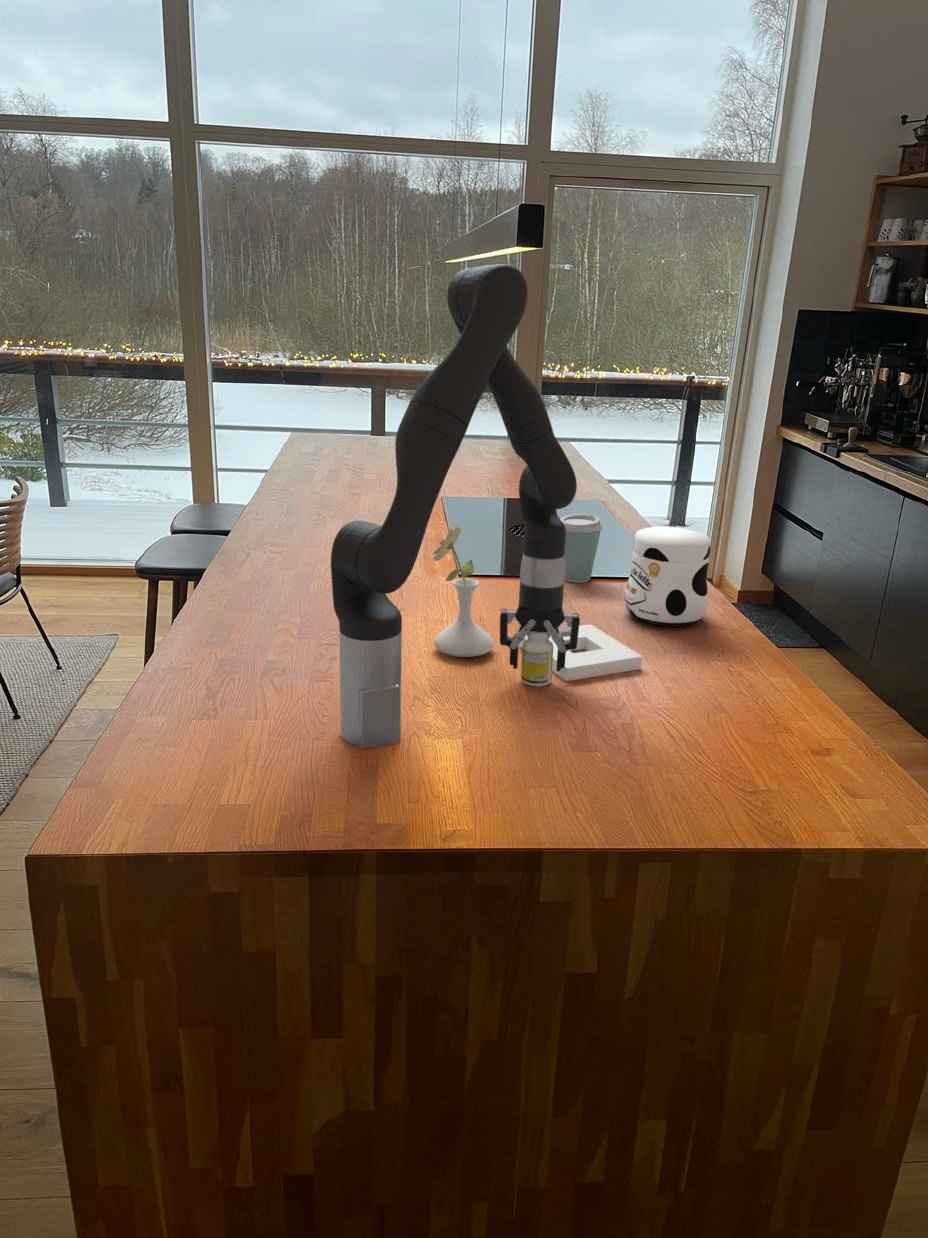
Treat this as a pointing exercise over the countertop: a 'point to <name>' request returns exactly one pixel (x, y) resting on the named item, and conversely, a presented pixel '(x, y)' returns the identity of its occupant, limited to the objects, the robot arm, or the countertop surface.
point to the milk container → (668, 576)
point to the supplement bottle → (537, 659)
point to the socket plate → (593, 655)
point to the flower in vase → (461, 610)
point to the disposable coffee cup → (580, 546)
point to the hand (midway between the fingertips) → (536, 668)
